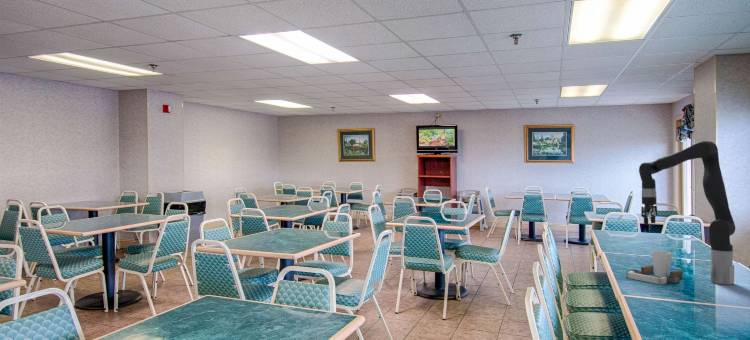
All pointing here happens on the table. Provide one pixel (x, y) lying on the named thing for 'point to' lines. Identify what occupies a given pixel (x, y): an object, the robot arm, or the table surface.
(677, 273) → the channel
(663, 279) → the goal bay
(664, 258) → the foam cup
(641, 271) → the pit
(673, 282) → the pit
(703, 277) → the table surface
